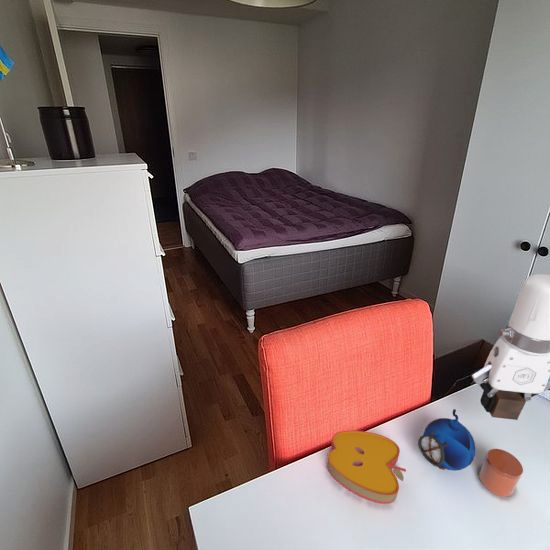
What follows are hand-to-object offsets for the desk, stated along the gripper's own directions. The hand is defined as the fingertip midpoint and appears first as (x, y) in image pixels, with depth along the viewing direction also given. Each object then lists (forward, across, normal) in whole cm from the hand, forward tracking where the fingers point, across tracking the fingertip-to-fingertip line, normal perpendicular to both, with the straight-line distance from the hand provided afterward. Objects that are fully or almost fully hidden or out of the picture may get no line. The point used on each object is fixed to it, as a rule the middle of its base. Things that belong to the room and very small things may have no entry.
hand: (499, 408), depth 73 cm
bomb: (+11, -11, -6) cm, 17 cm away
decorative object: (+9, -36, -9) cm, 38 cm away
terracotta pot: (+11, -2, -9) cm, 14 cm away
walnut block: (0, 0, 0) cm, 0 cm away
